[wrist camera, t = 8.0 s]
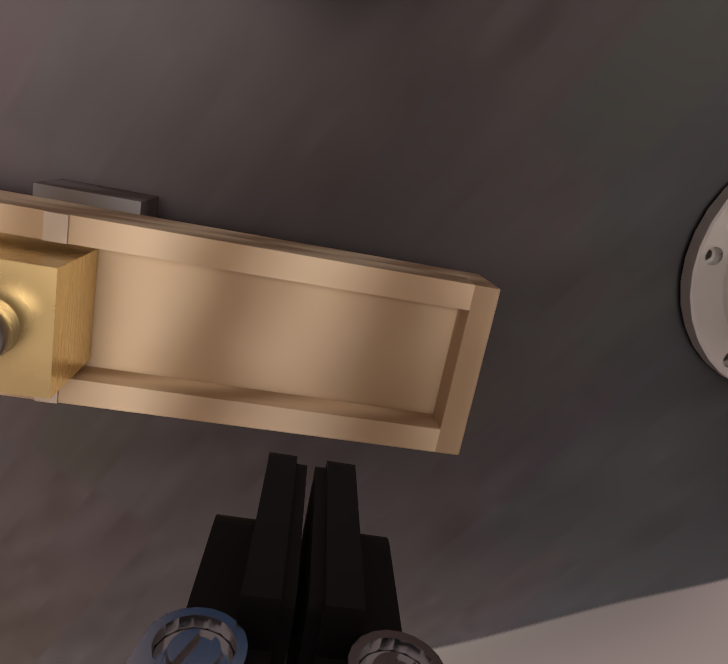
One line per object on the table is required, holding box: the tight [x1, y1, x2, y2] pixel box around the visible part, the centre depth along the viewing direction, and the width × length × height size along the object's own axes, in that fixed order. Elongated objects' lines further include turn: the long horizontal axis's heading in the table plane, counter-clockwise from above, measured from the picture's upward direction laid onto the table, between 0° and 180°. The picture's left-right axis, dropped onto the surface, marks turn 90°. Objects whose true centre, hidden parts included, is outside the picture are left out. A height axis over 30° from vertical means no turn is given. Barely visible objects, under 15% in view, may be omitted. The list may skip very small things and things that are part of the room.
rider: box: [0, 232, 98, 399], centre depth 21 cm, size 4×4×6 cm
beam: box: [0, 179, 500, 455], centre depth 25 cm, size 32×8×6 cm, turn 79°
